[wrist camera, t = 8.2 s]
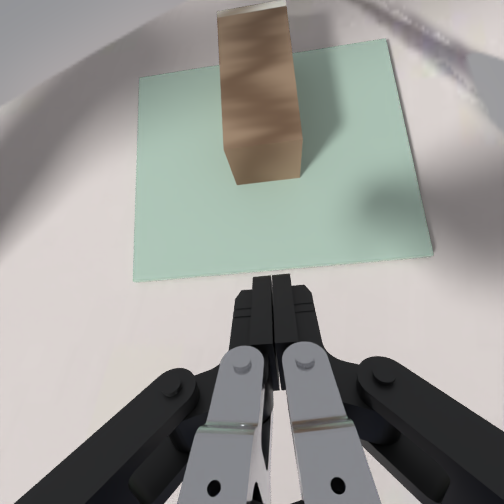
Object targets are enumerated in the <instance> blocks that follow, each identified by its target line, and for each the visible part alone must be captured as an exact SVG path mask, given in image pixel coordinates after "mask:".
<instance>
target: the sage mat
mask: <svg viewBox="0 0 504 504" xmlns="http://www.w3.org/2000/svg"><path fill="white" fill-rule="evenodd" d="M292 56H293V64H294V72H295V80H296V88H297V96H298V104H299V112H300V121H301V129H302V137H303V144H302V157H301V170H300V178H294V179H286V180H277V181H269V182H260V183H252V184H243V185H237V184H236V182H235V179H234V176H233V174H232V171H231V168H230V166H229V163H228V160H227V158H226V155H225V152H224V149H223V129H222V108H221V87H220V67H219V65H216V66H209V67H203V68H197V69H191V70H184V71H178V72H172V73H166V74H159V75H153V76H147V77H140V78H139V103H138V134H137V166H136V197H135V229H134V260H133V282H146V281H157V280H169V279H180V278H192V277H203V276H215V275H226V274H238V273H249V272H261V271H272V270H284V269H295V268H307V267H318V266H330V265H342V264H353V263H365V262H376V261H388V260H399V259H411V258H422V257H431V256H433V255H434V254H433V250H432V245H431V240H430V236H429V231H428V227H427V222H426V218H425V213H424V209H423V204H422V200H421V195H420V191H419V186H418V182H417V177H416V173H415V168H414V164H413V159H412V155H411V150H410V146H409V141H408V137H407V132H406V128H405V123H404V119H403V114H402V110H401V105H400V101H399V96H398V92H397V87H396V83H395V78H394V74H393V69H392V64H391V60H390V55H389V51H388V46H387V42H386V38H385V39H379V40H373V41H366V42H360V43H354V44H347V45H341V46H335V47H329V48H322V49H316V50H310V51H304V52H297V53H292Z"/></svg>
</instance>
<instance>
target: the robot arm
mask: <svg viewBox="0 0 504 504" xmlns="http://www.w3.org/2000/svg"><path fill="white" fill-rule="evenodd" d="M272 286H273V287H272ZM279 376H280V383H281V390H286V395H287V402H288V410H289V417H290V424H291V431H292V437H293V444H294V450H295V457H296V464H297V470H298V477H299V484H300V491H301V498H302V500H300V501H297V502H295V503H292V504H381V501H380V498H379V495H378V492H377V489H376V486H375V483H374V480H373V477H372V474H371V471H370V468H369V466H368V463H367V460H366V457H365V454H364V451H363V448H362V446H363V447H364V448H365V449H366V450H367V451H368V452H369V453H370V454H371V455H372V456H373V457H374V458H375V459H376V460H377V461H378V462H379V463H380V464H381V465H382V466H384V467H385V468H386V469H387V470H388V471H389V472H390V473H391V474H392V475H393V476H394V477H395V478H396V479H397V480H398V481H399V482H400V483H401V484H402V485H403V486H404V487H405V488H406V489H407V490H408V491H409V492H410V493H412V494H413V495H414V496H415V497H416V498H417V499H418V500H419V501H420V502H421V503H422V504H504V432H503V431H502V430H500V429H499V428H497V427H496V426H494V425H493V424H491V423H490V422H488V421H486V420H485V419H483V418H482V417H480V416H479V415H477V414H476V413H474V412H473V411H471V410H470V409H468V408H467V407H465V406H464V405H462V404H461V403H459V402H457V401H456V400H454V399H453V398H451V397H450V396H448V395H447V394H445V393H444V392H442V391H441V390H439V389H438V388H436V387H435V386H433V385H431V384H430V383H428V382H427V381H425V380H424V379H422V378H421V377H419V376H418V375H416V374H415V373H413V372H412V371H410V370H409V369H407V368H406V367H404V366H402V365H401V364H399V363H398V362H396V361H394V360H392V359H390V358H386V357H381V356H375V357H370V358H367V359H365V360H363V361H362V362H361V363H360V365H358V364H354V363H349V362H345V361H341V360H339V359H337V358H335V357H333V356H332V355H330V354H329V353H328V352H327V351H326V349H325V348H324V346H323V343H322V339H321V335H320V330H319V326H318V321H317V316H316V312H315V307H314V303H313V298H312V293H311V292H310V291H309V289H308V288H307V287H306V286H305V285H296V286H291V279H290V274H279V275H272V280H271V275H269V276H259V277H253V285H252V290H241V292H240V293H239V295H238V296H237V298H236V299H235V305H234V313H233V321H232V329H231V337H230V345H229V351H228V352H227V353H226V354H225V355H224V356H223V358H222V360H221V363H220V364H219V365H218V366H216V367H215V368H213V369H211V370H209V371H206V372H203V373H200V374H198V375H195V376H194V375H193V373H192V372H190V371H189V370H187V369H184V368H175V369H171V370H169V371H166V372H165V373H163V374H162V375H160V376H159V377H158V378H157V379H156V380H155V381H153V382H152V383H151V384H150V385H149V386H148V387H147V388H145V389H144V390H143V391H142V392H141V393H140V394H139V395H137V396H136V397H135V398H134V399H133V400H132V401H131V402H129V403H128V404H127V405H126V406H125V407H124V408H123V409H121V410H120V411H119V412H118V413H117V414H116V415H115V416H113V417H112V418H111V419H110V420H109V421H108V422H107V423H105V424H104V425H103V426H102V427H101V428H100V429H99V430H97V431H96V432H95V433H94V434H93V435H92V436H91V437H89V438H88V439H87V440H86V441H85V442H84V443H83V444H82V445H80V446H79V447H78V448H77V449H76V450H75V451H74V452H72V453H71V454H70V455H69V456H68V457H67V458H66V459H64V460H63V461H62V462H61V463H60V464H59V465H58V466H56V467H55V468H54V469H53V470H52V471H51V472H50V473H48V474H47V475H46V476H45V477H44V478H43V479H42V480H40V481H39V482H38V483H37V484H36V485H35V486H34V487H32V488H31V489H30V490H29V491H28V492H27V493H26V494H24V495H23V496H22V497H21V498H20V499H19V500H18V501H16V502H15V503H14V504H164V503H165V502H166V501H167V499H168V498H169V497H170V496H171V495H172V493H173V492H174V491H175V490H176V489H177V487H178V486H179V485H180V484H181V483H182V486H181V490H180V494H179V498H178V502H177V504H271V485H270V469H271V448H272V428H273V391H277V390H280V389H279ZM182 481H183V482H182Z"/></svg>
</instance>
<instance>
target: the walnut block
mask: <svg viewBox="0 0 504 504" xmlns="http://www.w3.org/2000/svg"><path fill="white" fill-rule="evenodd" d="M217 25H218V46H219V67H220V87H221V108H222V129H223V149H224V152H225V155H226V158H227V160H228V163H229V166H230V168H231V171H232V174H233V176H234V179H235V182H236V184H237V185H243V184H252V183H260V182H269V181H277V180H286V179H294V178H300V170H301V157H302V144H303V137H302V129H301V121H300V112H299V104H298V96H297V88H296V80H295V72H294V64H293V56H292V47H291V39H290V31H289V23H288V15H287V7H286V0H279V1H273V2H267V3H262V4H256V5H250V6H245V7H239V8H234V9H228V10H222V11H217Z"/></svg>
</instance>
